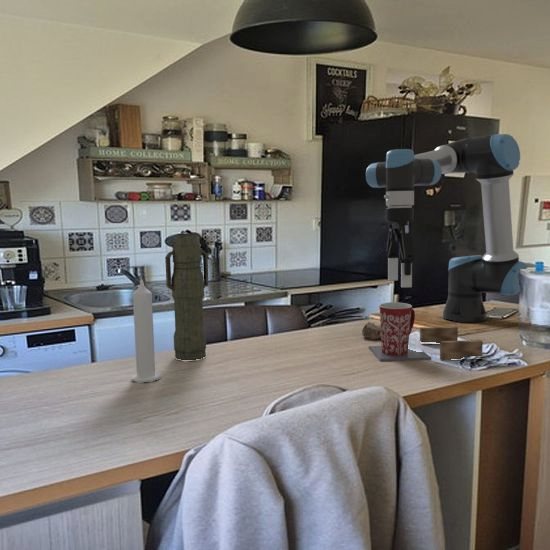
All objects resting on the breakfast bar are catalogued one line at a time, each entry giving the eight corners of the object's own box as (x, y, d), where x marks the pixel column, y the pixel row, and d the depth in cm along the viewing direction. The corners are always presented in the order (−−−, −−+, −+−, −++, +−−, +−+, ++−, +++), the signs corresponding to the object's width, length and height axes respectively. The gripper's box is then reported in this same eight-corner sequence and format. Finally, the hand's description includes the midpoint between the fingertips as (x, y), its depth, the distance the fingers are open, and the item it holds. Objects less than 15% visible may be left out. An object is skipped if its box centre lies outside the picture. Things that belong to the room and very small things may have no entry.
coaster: (415, 346, 164) (415, 344, 164) (430, 359, 150) (431, 357, 150) (368, 348, 164) (368, 346, 164) (380, 361, 150) (380, 359, 150)
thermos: (164, 357, 157) (159, 234, 153) (202, 351, 164) (197, 232, 160) (177, 364, 150) (172, 235, 146) (216, 357, 157) (212, 233, 152)
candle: (130, 376, 140) (125, 278, 137) (158, 373, 142) (153, 276, 139) (133, 384, 133) (128, 282, 130) (163, 381, 136) (158, 280, 133)
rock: (363, 341, 173) (395, 335, 172) (360, 323, 174) (391, 316, 173) (363, 341, 182) (393, 336, 181) (359, 324, 183) (389, 318, 182)
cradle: (455, 342, 169) (455, 326, 168) (482, 359, 150) (482, 341, 149) (419, 343, 168) (420, 327, 167) (442, 360, 149) (442, 342, 148)
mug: (396, 358, 150) (397, 309, 148) (371, 351, 157) (372, 304, 155) (425, 350, 157) (427, 303, 156) (400, 344, 165) (401, 299, 163)
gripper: (375, 207, 164) (375, 278, 167) (398, 207, 140) (398, 290, 142) (400, 206, 165) (400, 277, 167) (427, 206, 140) (427, 289, 143)
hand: (399, 283), depth 155 cm, fingers open, 13 cm apart
